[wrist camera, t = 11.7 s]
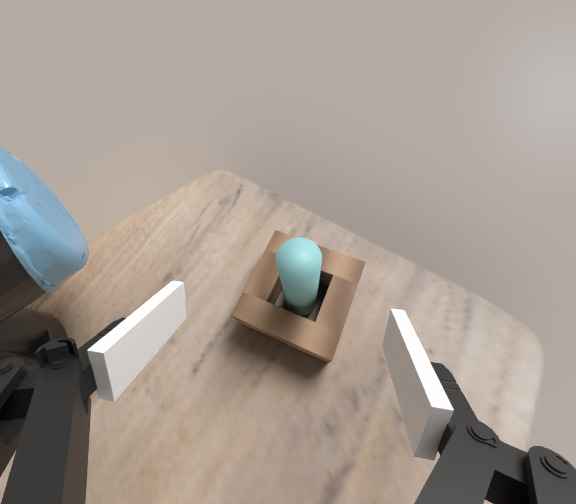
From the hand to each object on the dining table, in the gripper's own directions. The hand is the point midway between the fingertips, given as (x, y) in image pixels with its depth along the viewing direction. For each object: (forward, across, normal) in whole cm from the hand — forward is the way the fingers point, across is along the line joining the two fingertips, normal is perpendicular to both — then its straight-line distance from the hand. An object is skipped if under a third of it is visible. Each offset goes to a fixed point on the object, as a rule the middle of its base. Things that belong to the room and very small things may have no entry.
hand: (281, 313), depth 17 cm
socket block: (+17, 0, -9) cm, 19 cm away
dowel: (+17, 0, -9) cm, 19 cm away
